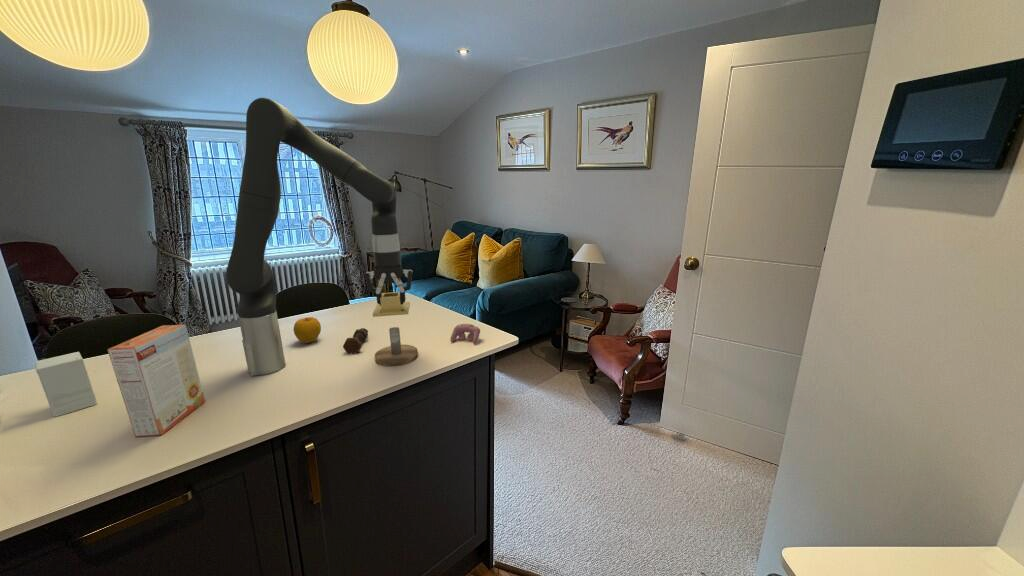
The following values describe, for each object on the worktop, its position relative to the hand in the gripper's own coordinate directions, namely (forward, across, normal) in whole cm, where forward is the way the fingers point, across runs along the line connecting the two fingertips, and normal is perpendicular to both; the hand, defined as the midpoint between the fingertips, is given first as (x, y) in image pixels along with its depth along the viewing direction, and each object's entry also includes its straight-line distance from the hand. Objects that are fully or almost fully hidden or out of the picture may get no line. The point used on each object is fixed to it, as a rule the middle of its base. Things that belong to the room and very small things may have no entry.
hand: (391, 304), depth 117 cm
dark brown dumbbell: (+18, -14, +14) cm, 26 cm away
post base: (+17, 0, 0) cm, 17 cm away
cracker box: (+18, -49, -24) cm, 57 cm away
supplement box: (+18, -76, -12) cm, 79 cm away
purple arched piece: (+18, +22, +8) cm, 30 cm away
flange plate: (+2, 0, 0) cm, 2 cm away
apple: (+18, -31, +20) cm, 41 cm away
